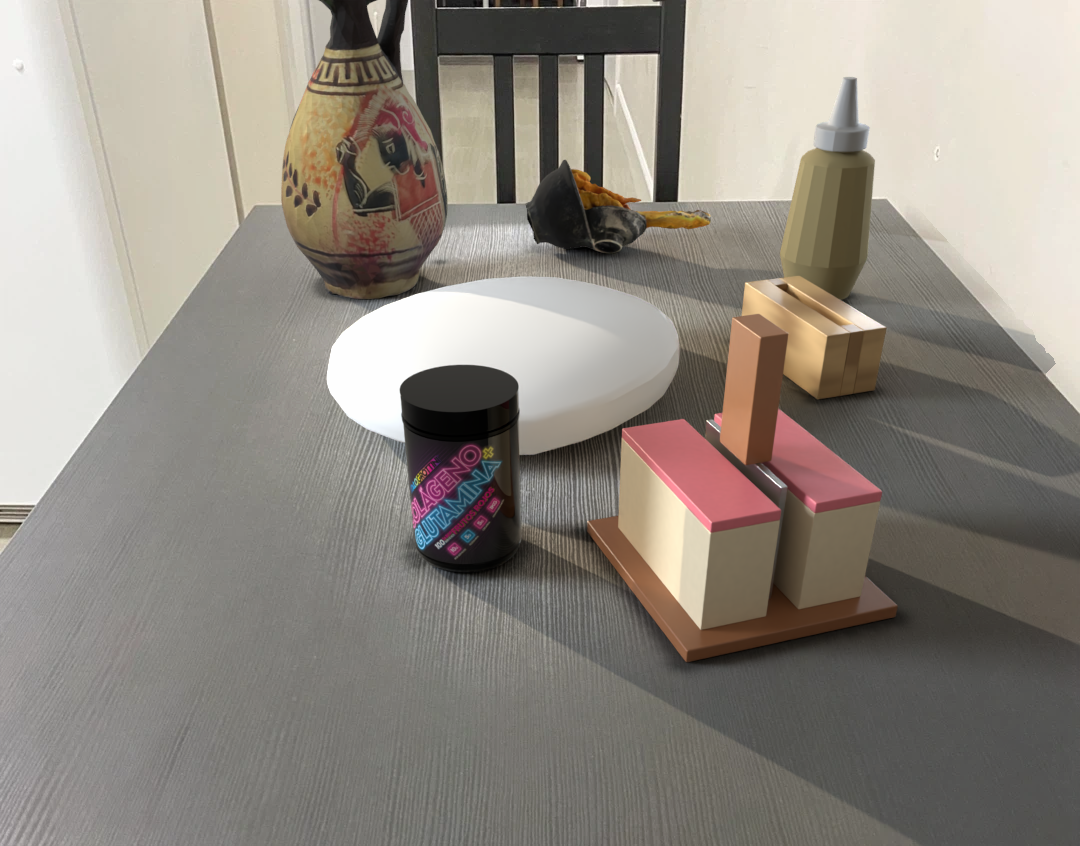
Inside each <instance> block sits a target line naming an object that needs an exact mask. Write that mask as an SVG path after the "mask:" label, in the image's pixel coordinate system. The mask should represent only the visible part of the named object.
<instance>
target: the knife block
mask: <svg viewBox="0 0 1080 846" xmlns="http://www.w3.org/2000/svg"><path fill="white" fill-rule="evenodd" d="M743 290H744V291H743V300H742V309H741V316H746V315H753V314H760V315H762V316H763V317H765V318H766V319H767V320H769V321H770V322H772V323H773V324H775V325H776V326H778V327H779V328H781V329H782V330H784V331H785V332H787V333H788V341H787V349H786V356H785V364H784V371H783V376H785V377H786V378H788V379H789V380H790V381H792V382H793V383H794V384H796V385H797V386H798V387H800V388H801V389H803V390H804V391H805V392H807V393H808V394H809V395H810V396H812V397H813V398H814V399H815V400H823V399H830V398H836V397H841V396H847V395H852V394H861V393H867V392H872V391H875V390H876V385H877V381H878V375H879V370H880V365H881V359H882V354H883V349H884V346H885V345H884V344H885V339H886V333H887V330H888V329H887V326H885V325H883V324H881V323H880V322H878V321H876V320H875V319H873V318H871V316H870V317H869V316H868V315H867V314H864V313H863V312H861V311H859V310H857V309H856V308H854V307H853V306H851V305H850V304H848V303H846V302H844V301H843V300H839V299H838V298H836V297H834V296H833V295H831V294H829V293H828V292H826V291H824V290H823V289H821V288H819V287H818V286H816V285H814V284H813V283H811V282H809V281H808V280H806V279H804V278H803V277H801V276H793V277H785V278H784V277H777V278H770V279H761V280H754V281H746V282H744V289H743Z"/></svg>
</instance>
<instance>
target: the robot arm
mask: <svg viewBox="0 0 1080 846" xmlns="http://www.w3.org/2000/svg"><path fill="white" fill-rule="evenodd" d="M651 1H652V2H653V3H658V2H659V3H661V2H667V1H668V0H651Z"/></svg>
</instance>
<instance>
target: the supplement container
mask: <svg viewBox="0 0 1080 846" xmlns="http://www.w3.org/2000/svg"><path fill="white" fill-rule="evenodd" d="M400 401H401V411H402V412H401V417H402V422H403V427H404V438H405V443H404V449H405V459H406V469H407V480H408V489H409V491H408V492H409V501H410V510H411V523H412V533H413V544H414V547H415V550H416V551H417V553H418V554H419V556H420V557H421V558H422V559H423V560H424V561H425V562H426V563H428V564H429V565H430V566H432V567H433V568H436V569H439V570H442V571H446V572H451V573H458V574H471V573H473V574H474V573H480V572H486V571H490V570H493V569H496V568H498V567H500V566H502V565H504V564H505V563H507V562H509V561H510V560H511V559H512V558H513V557H514V556H515V554H516V553H517V552H518V551H519V548H520V546H521V543H522V507H521V505H522V504H521V503H522V502H521V500H522V499H521V498H522V497H521V461H520V460H521V459H520V458H521V455H520V453H519V416H520V409H519V385H518V382H517V380H516V379H515V378H514V377H513V376H511V375H510V374H508V373H506V372H504V371H501V370H499V369H495V368H491V367H486V366H479V365H448V366H441V367H435V368H431V369H427V370H424V371H421V372H418V373H416V374H414V375H412V376H410V377H409V378H407V379H406V380H405V381H404V382H403V383H402V384H401V386H400Z"/></svg>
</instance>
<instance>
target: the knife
mask: <svg viewBox="0 0 1080 846" xmlns="http://www.w3.org/2000/svg"><path fill="white" fill-rule="evenodd" d="M787 341H788V333H787V332H785V331H784V330H782V329H781V328H779V327H778V326H776V325H775V324H773V323H772V322H770V321H769V320H767V319H766V318H765V317H763V316H762V315H760V314H753V315H746V316H742V315H740V316H732V318H731V327H730V337H729V347H728V355H727V365H726V374H725V375H726V377H725V385H724V395H723V405H722V413H723V414H722V423H721V427H720V426H719V425H718V424H717V423H716V422H715V421H714V419H707V420H706V424H705V435H704V438H705V439H706V440H707V441H708V442H709V443H710V444H711V445H712V446H713V447H714V448H715V449H717V450H718V451H719V452H720V453H721V454H722V455H723V456H724V457H725V458H726V459H727V460H728V461H729V462H730V463H731V464H733V465H734V466H735V467H736V468H737V469H738V470H739V471H740V472H741V473H742V474H743V475H744V476H745V477H746V478H748V479H749V480H750V481H751V482H752V483H753V484H754V485H755V486H756V487H757V488H758V489H759V490H760V491H761V492H762V493H764V494H765V495H766V496H767V497H768V498H769V499H770V500H771V501H772V502H773V503H774V504H775V505H776V506H777V507H778V508H780V509H781V516H780V524H779V531H778V538H777V545H776V551H775V558H774V565H773V572H772V579H771V585H770V592H769V599H771V595H772V588H773V582H774V575H775V568H776V562H777V555H778V548H779V541H780V535H781V528H782V521H783V514H784V508H785V501H786V494H787V488H788V487H787V486H786V485H785V484H784V483H783V482H782V481H781V480H780V479H779V478H777V477H776V476H775V475H774V474H773V473H772V472H771V471H770V470H768V469H767V468H766V467H765V466H764V465H763V464H762V462H768V461H771V459H772V452H773V445H774V437H775V430H776V422H777V415H778V408H779V406H780V400H781V392H782V384H783V378H784V374H783V371H784V364H785V356H786V349H787ZM779 409H780V408H779Z"/></svg>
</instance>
